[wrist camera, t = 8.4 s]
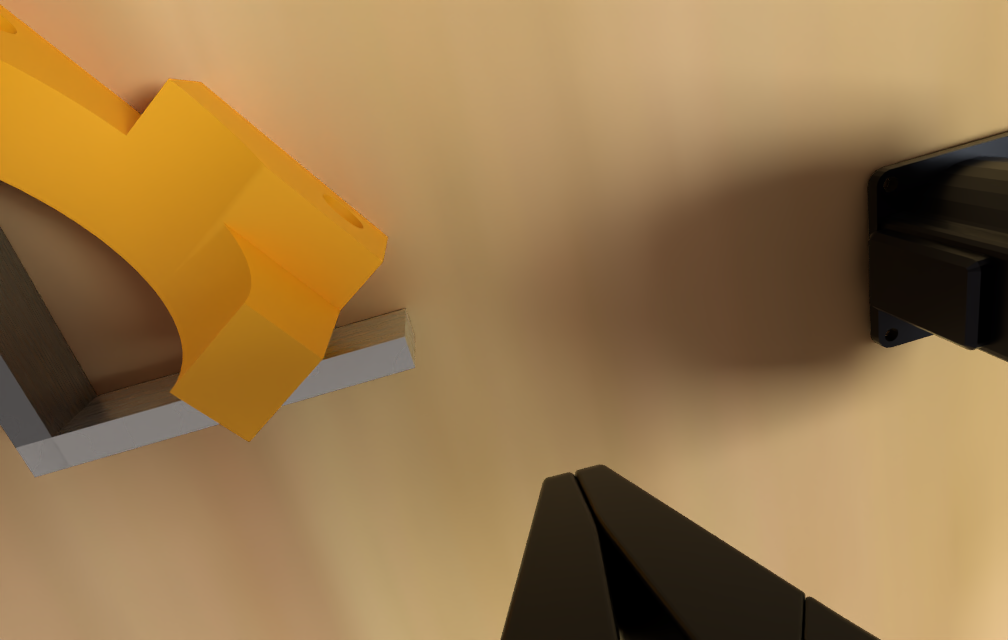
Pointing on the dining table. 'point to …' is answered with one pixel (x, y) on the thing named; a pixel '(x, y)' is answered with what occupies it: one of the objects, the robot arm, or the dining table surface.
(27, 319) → the rail bay
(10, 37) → the pipe clamp
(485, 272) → the dining table surface
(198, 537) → the dining table surface
